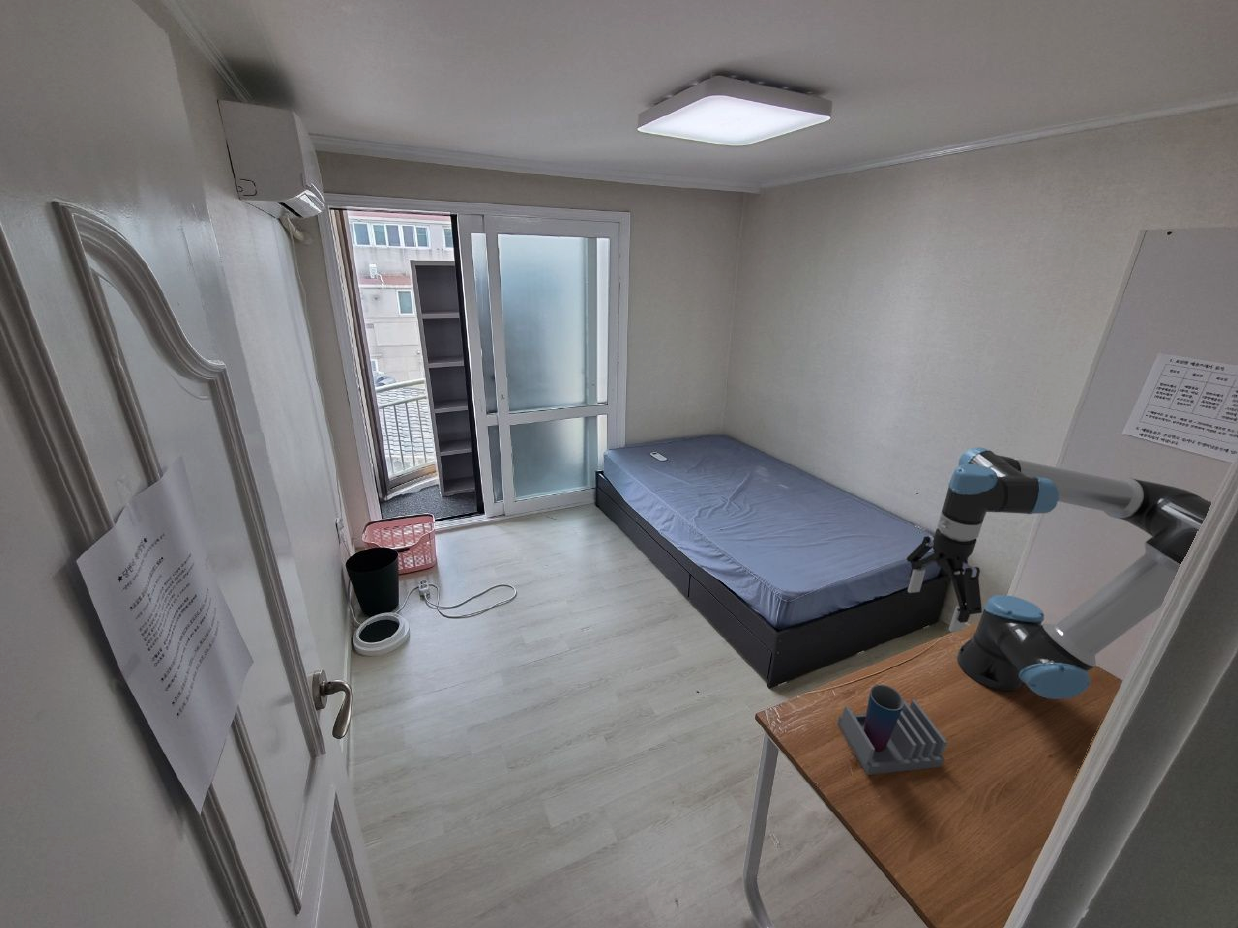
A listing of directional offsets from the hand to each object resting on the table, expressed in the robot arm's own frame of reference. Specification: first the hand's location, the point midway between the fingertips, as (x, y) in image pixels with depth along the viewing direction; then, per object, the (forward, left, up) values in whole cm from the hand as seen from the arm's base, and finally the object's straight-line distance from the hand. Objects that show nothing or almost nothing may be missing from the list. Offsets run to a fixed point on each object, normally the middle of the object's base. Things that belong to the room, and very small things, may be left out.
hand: (933, 609), depth 117 cm
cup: (+15, +11, -29) cm, 34 cm away
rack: (+11, +11, -30) cm, 34 cm away
